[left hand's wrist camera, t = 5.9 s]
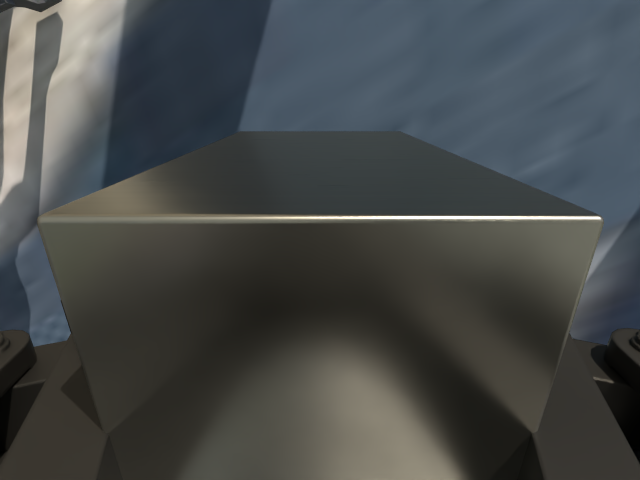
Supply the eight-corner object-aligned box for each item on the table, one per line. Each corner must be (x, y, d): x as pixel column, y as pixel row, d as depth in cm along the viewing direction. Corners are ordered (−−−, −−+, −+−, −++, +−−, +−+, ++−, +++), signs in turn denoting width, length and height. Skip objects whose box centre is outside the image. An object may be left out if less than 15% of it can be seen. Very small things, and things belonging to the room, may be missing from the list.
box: (238, 131, 13) (31, 216, 4) (401, 131, 13) (610, 216, 4) (269, 511, 21) (230, 836, 12) (370, 511, 21) (409, 836, 12)
